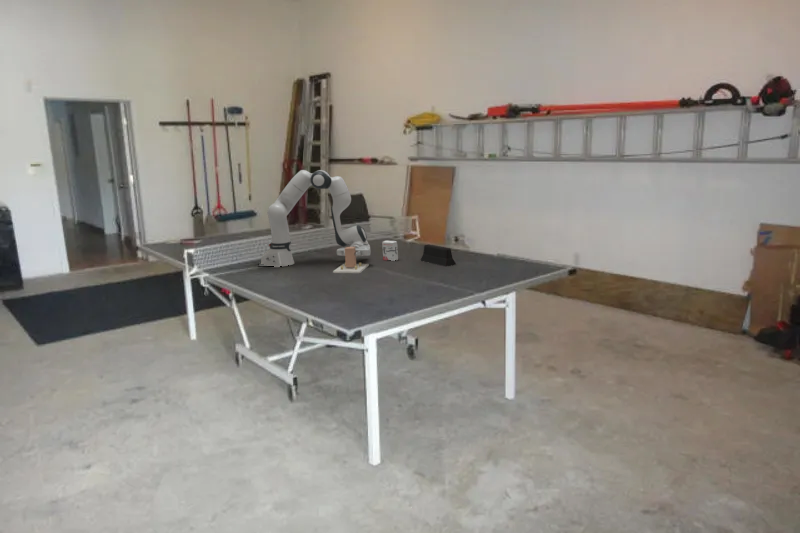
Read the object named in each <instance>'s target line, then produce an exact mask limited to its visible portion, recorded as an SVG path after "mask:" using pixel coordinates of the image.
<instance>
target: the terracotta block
mask: <svg viewBox="0 0 800 533" xmlns="http://www.w3.org/2000/svg"><path fill="white" fill-rule="evenodd" d="M344 248H345V256H344V259H345V262H346V267H355V266H356V264H357V257H356V256H354V253H355V252H356V251H355V247H350V246H345V247H344ZM345 262H344V263H345Z"/></svg>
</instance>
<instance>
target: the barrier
mask: <svg viewBox="0 0 800 533" xmlns="http://www.w3.org/2000/svg"><path fill="white" fill-rule="evenodd" d="M422 253H423V254H422V256H421V257H420V260H421V261H420V262H423V261H424V262H423V263H427V262H429V263H428V264H431V265H436V264H437V266H443V267H451V266H453V265H454V266H455V265H457V263H456V261H455V260H454V258H453V254H452V249H451V248H450V247H444V246H440V245H434V244H425V245H424V246H423V252H422Z"/></svg>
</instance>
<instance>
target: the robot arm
mask: <svg viewBox="0 0 800 533" xmlns="http://www.w3.org/2000/svg"><path fill="white" fill-rule="evenodd" d="M310 187H313V188H315V189H318V190H324V189H325V190H328V191H329V193H330V194H331V195H330V196H331V199H332V206H331V207H330V213H331V219H332V223H333V228H334V235H335V241H336V244H337V245H338V246H340V248H338V249H336V255H337V256H341V257H342V256H344V257H345V248H346V247H348V246H349V247H355V251H356V252H355V253H354V256H356V258H360V257H365V256H368V257H369V256H371V245H370V244H369V242H368V240H367V238H368V237H367V233H366V230H365V229H364V227H362V226H360V225H358V224H356V225H353V226H350V227H349V228H346V229H343V228H342V223H341V222H342V221H341V214H342V212H343V211H345V210H346V209H347V208H348V207H349V206H350V204H351V202H352V196H351V192H350V190H349V187H348V186H347V183H346V181H345V180H344V178H343V177H342V176H340V175H339V176H338V175H337V176H331V174H330V173H329V172H328V171H327V170H324V169H318V170H316V171H314V172H312V173H311V172H310V171H308V170H306V169H300V170H299V171H298V172H297V173H296V174H295V175H294V176H293V177H292V178H291V179H290V181H288V183H287V185H286V186H285V187H284V188H283V190H281V192H280V194H279V195H278V197H277V199H275V201H274V202H273V203H271V204H270V205H269V206H268V208H267V217H268V218H267V219H268V223H269V224H268V225H269V227H270V234H271V242H270V243H269V244H268V247H269V249H268V250H266V252H264V253H263V254H262V255H261V264H264V265H267V266H274V267H273V268H281V267H280V266H282V267H288V265H289V266H292V265H295V261H294V258H293V253H292V241H291V237H290V236H291V234H290V228H289V222H288V217H287V216H288V215H289V214H290V212H291V211H292V210H293V209H294V207H295V206H296V204H297V203H298V202H299V200H300V199H301V198H302V196H304V195H305V193H306V191H307V190H308V189H309V188H310Z"/></svg>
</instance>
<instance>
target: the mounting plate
mask: <svg viewBox="0 0 800 533" xmlns="http://www.w3.org/2000/svg"><path fill="white" fill-rule="evenodd" d="M369 265H370V264H369V263H362V262H358V263H356V266H355V267H346V262H344V263H342V264H341V265H340V266H338V267H337V268H336V269H334V270H333V271H332V273H333V274H361V273H362V272H363V271H364V270H366V269H367V268H368V267H369Z"/></svg>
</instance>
